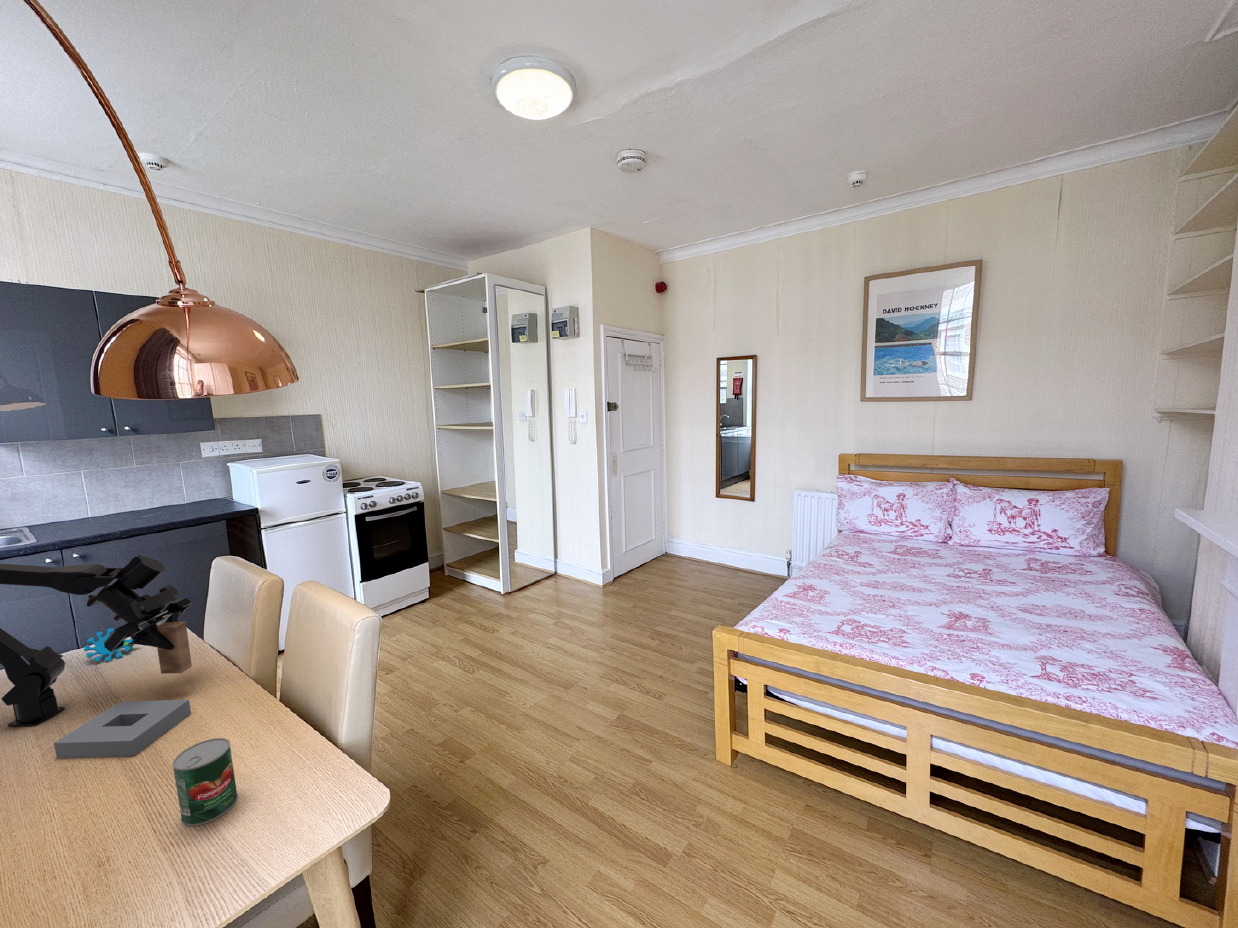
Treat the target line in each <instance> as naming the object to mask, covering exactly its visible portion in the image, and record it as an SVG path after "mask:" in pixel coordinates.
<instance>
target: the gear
mask: <svg viewBox="0 0 1238 928" xmlns="http://www.w3.org/2000/svg"><path fill="white" fill-rule="evenodd" d="M106 630H107V633H106V635H104V634H103V631H97V632H96V633H95V635H96V637H97V638H98V641H95V639H94V638H93V637H90V638H88V639H87V640H86V641H87V644H91V645H94V646H93V647H91V646H90V645H85V646H84V648H83V651H84V652H86V658H87V659H91V658H92V657H93V661H94V662H96V663H98V662H100V661H101V659H102V658H103V657H105V656H106V657H105V658H104V662H105V661H109V662H111V661H112V656H113V655H114V654H115V653H116V655H115V659H120V658H122V657H123V653H122V652H121V651H120V650H121V649H124V652H125V653H127V652H129V651H130V650H131V648H132V649H134V646H135V645H136V644H134V645H130V643H131V642H132V641H133V640H132V639H131V638H130V637H128V638H129V639H128V638H127V639H124V640H123V641H124V645H123V646H122V647H121V648H119V649H117V650H115V651H113V652H110V651H109V650H107V649H106V648H105V646H104V641H105V640H106V639H107V638H108V637H109V636H110V635H111V633H112V632H113V631H114V630H115V628H108V629H106ZM103 635H104V636H103ZM87 651H89V652H87ZM90 651H95V652H90ZM98 655H99V656H98ZM94 656H95V657H94ZM119 657H120V658H119ZM110 660H111V661H110Z"/></svg>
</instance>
